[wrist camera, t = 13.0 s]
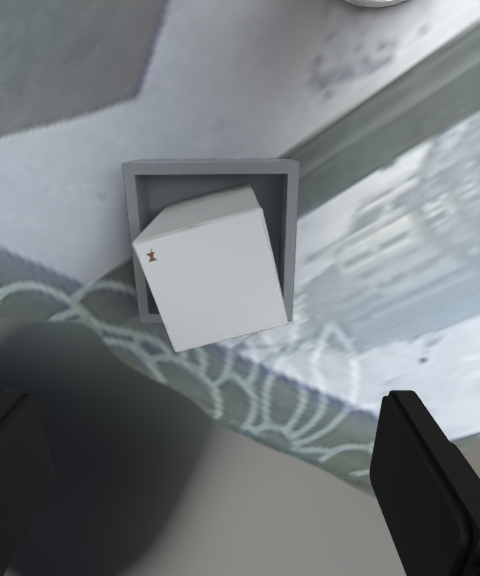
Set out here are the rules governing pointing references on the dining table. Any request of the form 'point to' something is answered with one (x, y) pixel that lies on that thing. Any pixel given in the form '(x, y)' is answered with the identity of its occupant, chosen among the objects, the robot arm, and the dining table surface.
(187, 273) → the supplement box
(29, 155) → the dining table surface
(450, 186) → the dining table surface
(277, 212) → the bin
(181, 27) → the dining table surface
